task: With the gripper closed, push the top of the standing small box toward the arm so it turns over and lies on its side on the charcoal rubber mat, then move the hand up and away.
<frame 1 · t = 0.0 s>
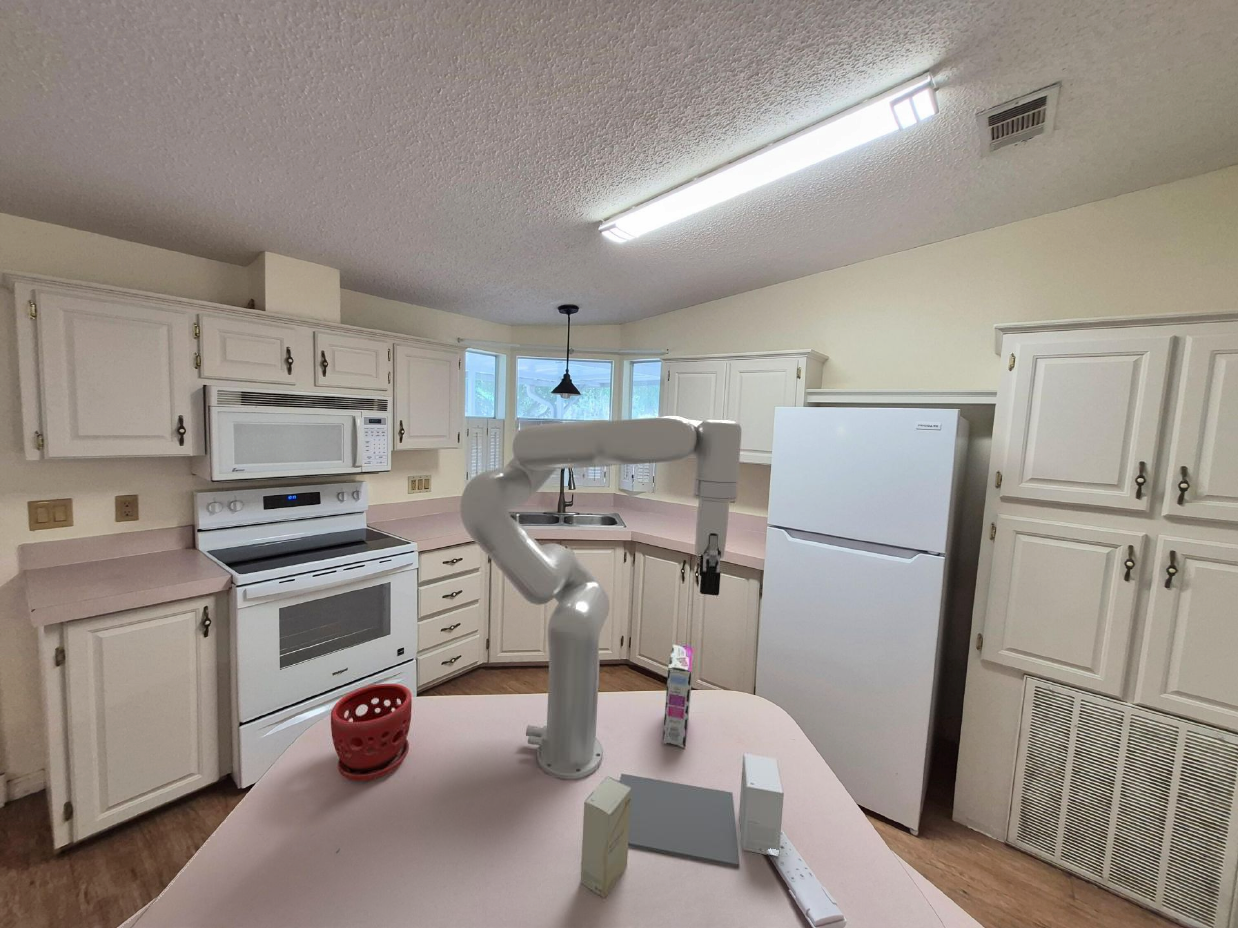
hand: (708, 584, 84), 37 cm above the table, tool pointing down, fingers open, 9 cm apart
skincare box: (603, 874, 68), on the table
small box: (757, 834, 76), on the table
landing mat: (673, 817, 78), on the table
candy bar box: (676, 730, 101), on the table
plant pot: (372, 763, 87), on the table
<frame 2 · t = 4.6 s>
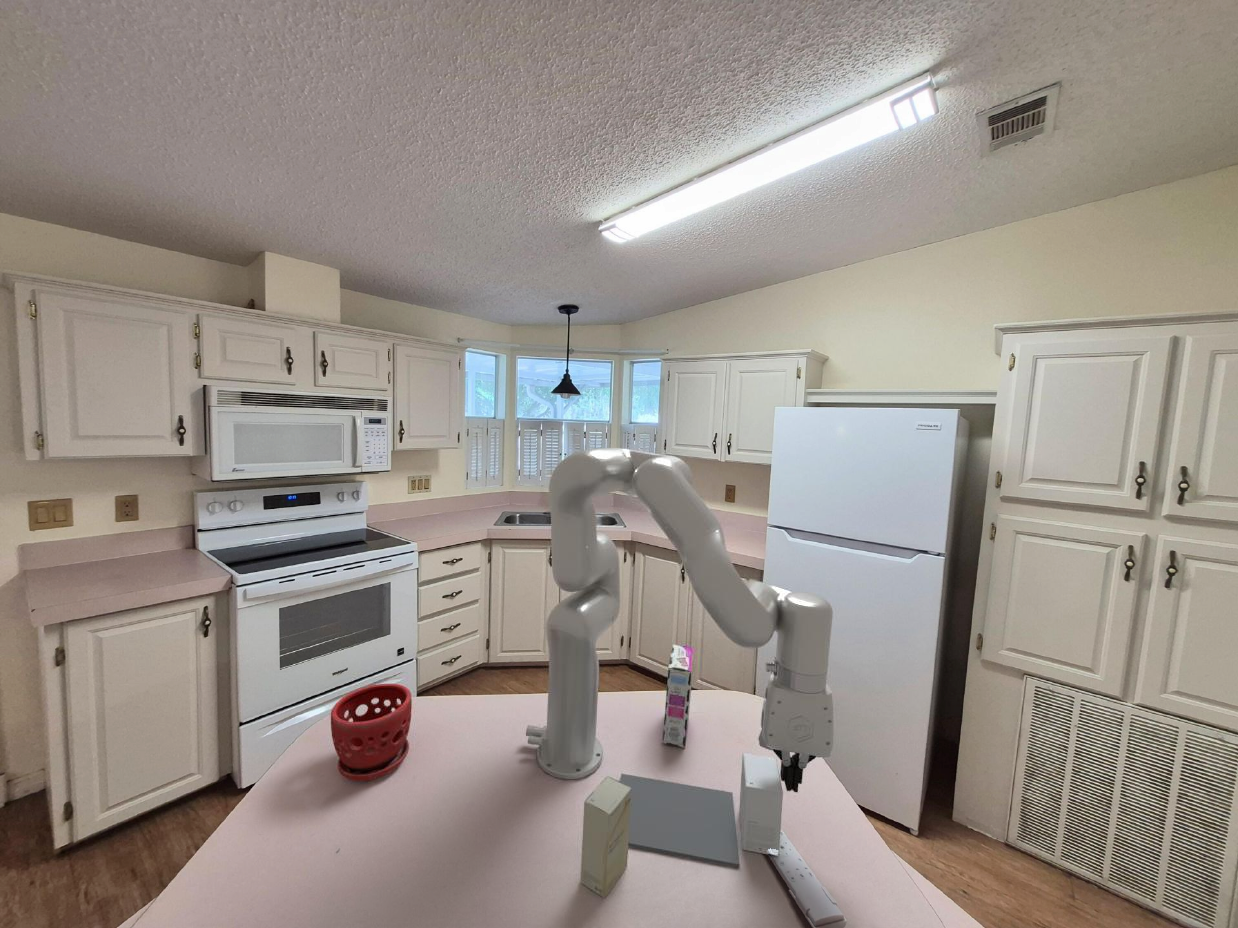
hand: (790, 784, 75), 9 cm above the table, tool pointing down, fingers closed
small box: (757, 833, 76), on the table, touching gripper
everything else where it was.
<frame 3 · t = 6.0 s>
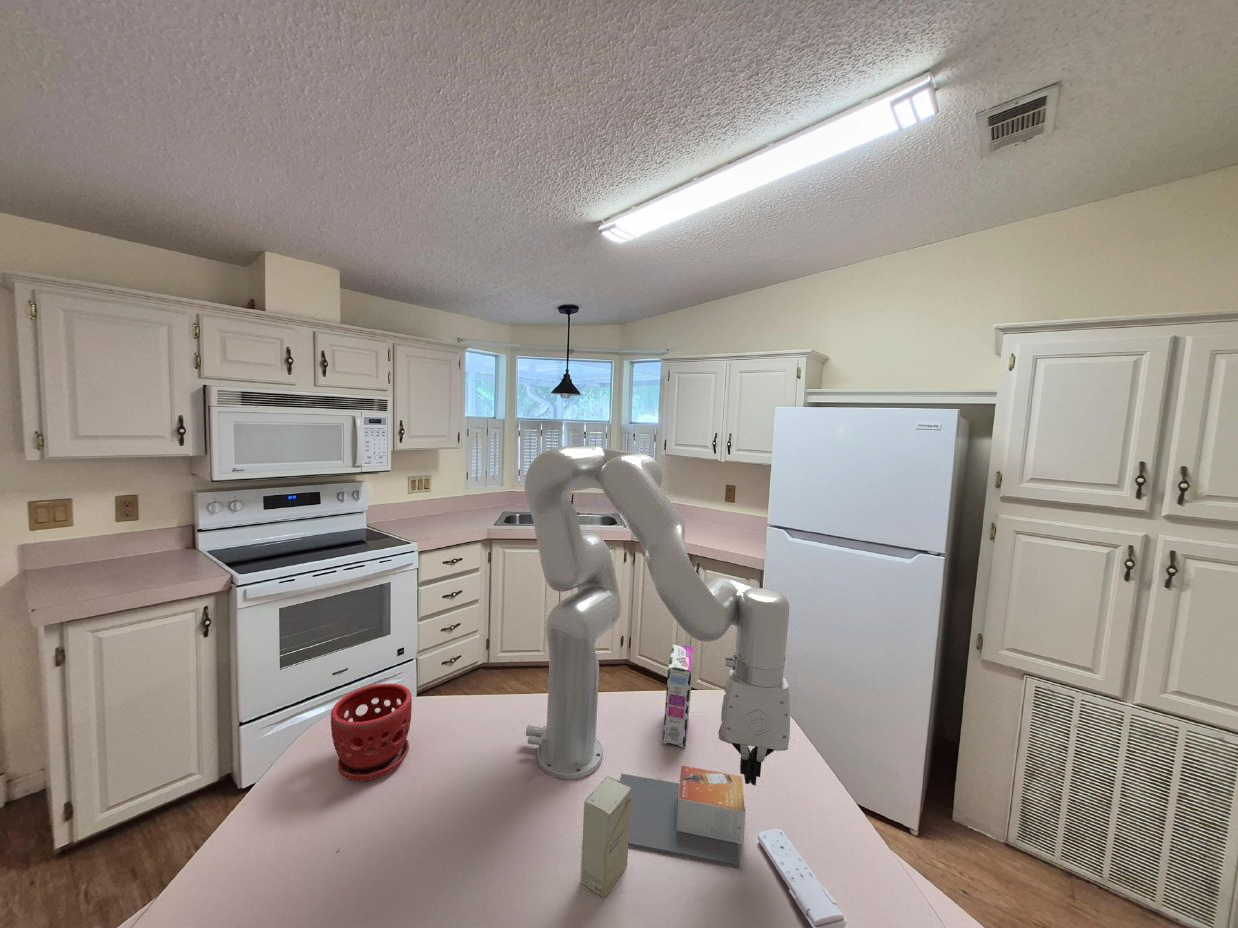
hand: (749, 777, 76), 9 cm above the table, tool pointing down, fingers closed
small box: (744, 808, 77), point 3 cm above the table, touching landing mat
everything else where it was.
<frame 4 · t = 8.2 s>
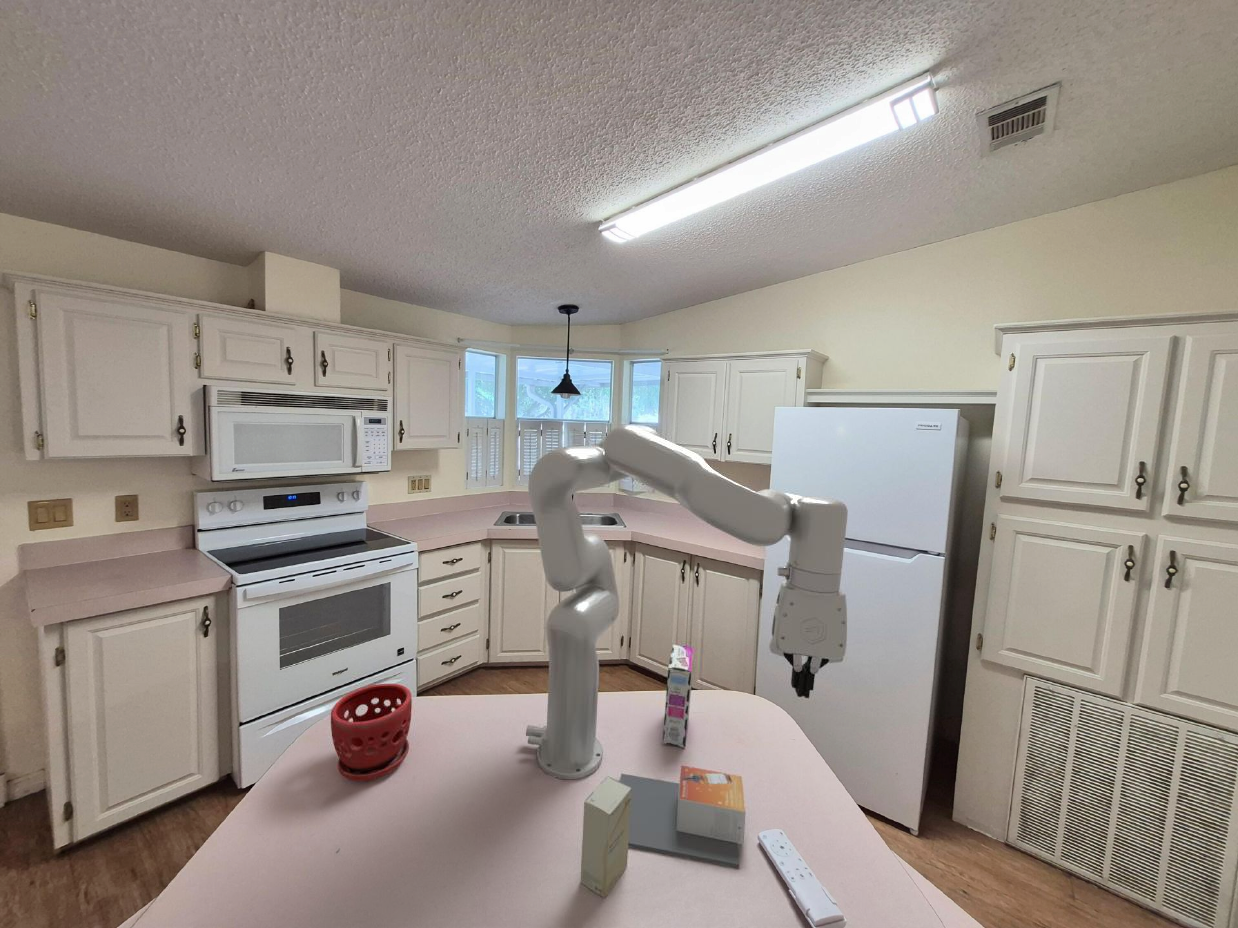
hand: (801, 692, 73), 24 cm above the table, tool pointing down, fingers closed
nothing on the table moved.
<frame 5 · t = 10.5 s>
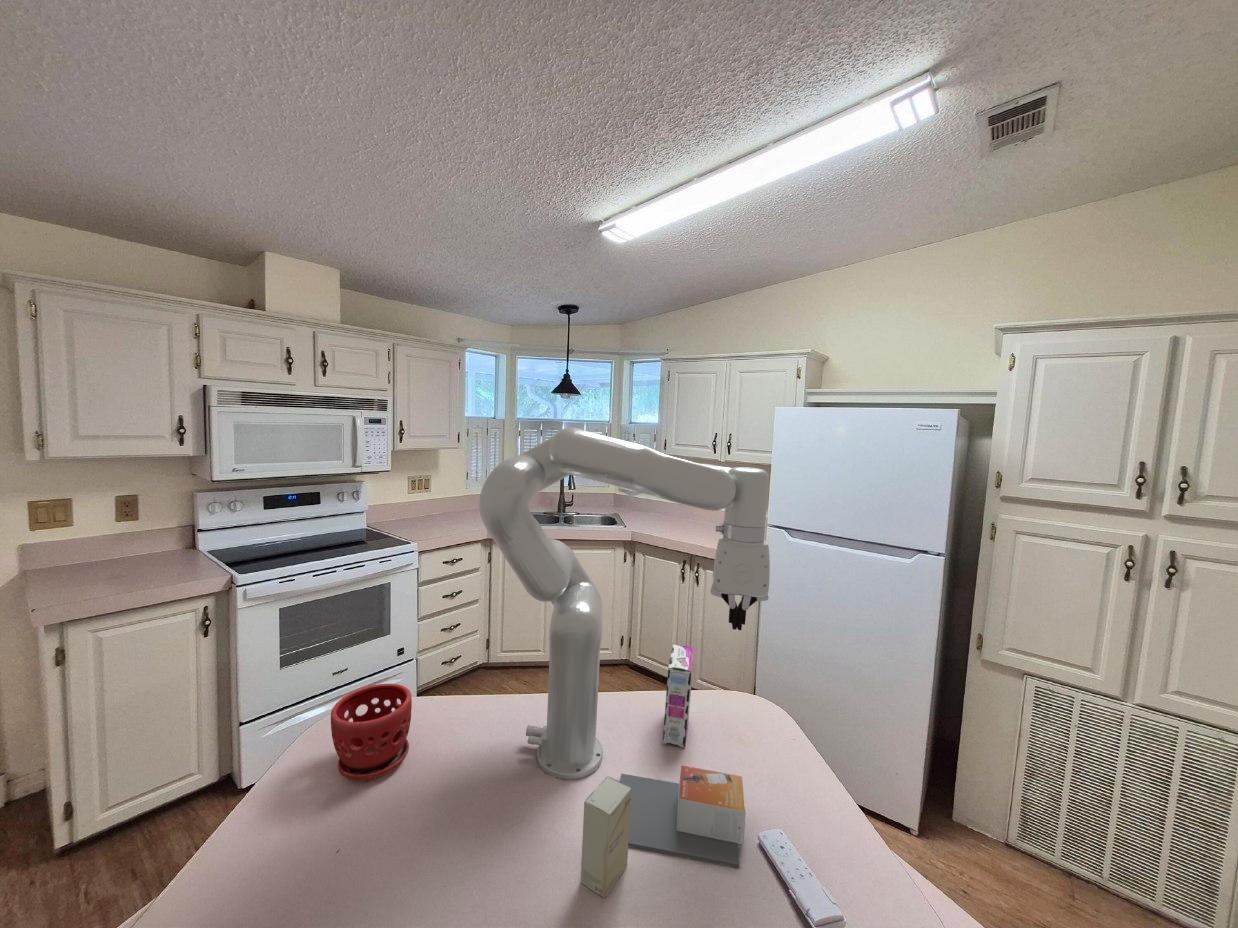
hand: (736, 626, 90), 27 cm above the table, tool pointing down, fingers closed
nothing on the table moved.
at the end: small box tilted 90°; small box touching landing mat; small box inside the target area (3.2 cm from its centre), point 3.3 cm above the table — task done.
